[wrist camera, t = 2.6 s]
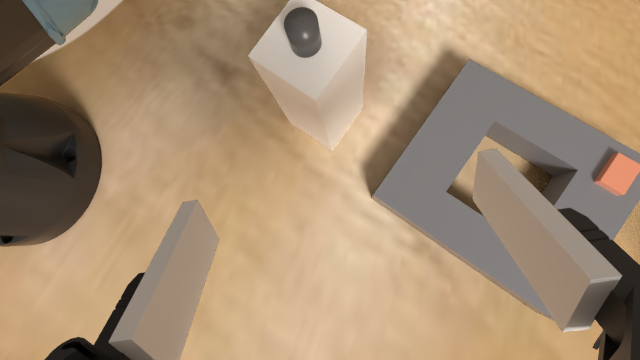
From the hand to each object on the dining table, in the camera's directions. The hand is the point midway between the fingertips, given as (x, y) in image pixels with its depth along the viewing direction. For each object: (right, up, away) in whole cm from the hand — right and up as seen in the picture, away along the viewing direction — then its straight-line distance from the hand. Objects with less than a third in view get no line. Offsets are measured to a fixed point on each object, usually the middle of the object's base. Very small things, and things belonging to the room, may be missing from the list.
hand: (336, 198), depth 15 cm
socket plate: (+14, 0, +12) cm, 19 cm away
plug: (0, +7, +15) cm, 16 cm away
